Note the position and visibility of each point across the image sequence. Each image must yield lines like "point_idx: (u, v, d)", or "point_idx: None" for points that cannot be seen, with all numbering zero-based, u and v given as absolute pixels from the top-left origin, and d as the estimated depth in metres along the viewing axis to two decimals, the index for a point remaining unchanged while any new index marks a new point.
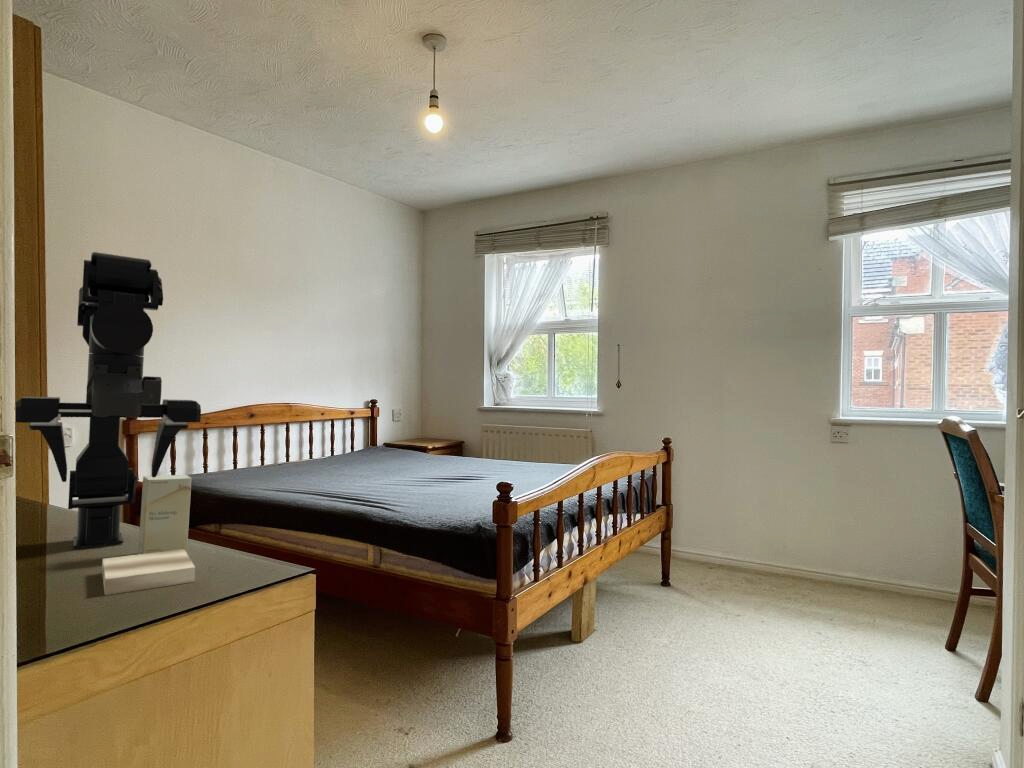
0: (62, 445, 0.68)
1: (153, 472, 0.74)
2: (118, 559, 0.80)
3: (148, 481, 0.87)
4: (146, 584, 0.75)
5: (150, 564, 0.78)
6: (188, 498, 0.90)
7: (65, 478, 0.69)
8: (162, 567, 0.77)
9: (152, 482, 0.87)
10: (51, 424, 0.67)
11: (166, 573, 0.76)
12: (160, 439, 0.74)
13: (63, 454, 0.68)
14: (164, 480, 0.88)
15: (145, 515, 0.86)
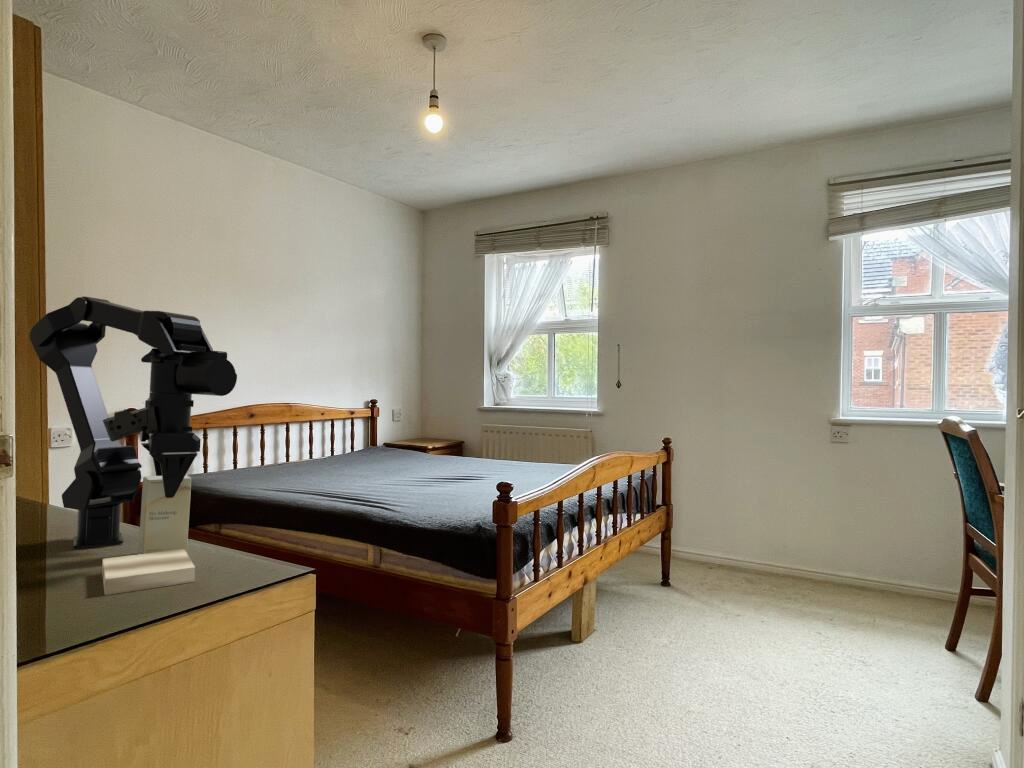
0: (153, 459, 0.93)
1: (165, 493, 0.86)
2: (118, 559, 0.80)
3: (148, 481, 0.87)
4: (146, 584, 0.75)
5: (150, 564, 0.78)
6: (188, 498, 0.90)
7: None
8: (162, 567, 0.77)
9: (152, 482, 0.87)
10: (147, 443, 0.93)
11: (166, 573, 0.76)
12: (160, 465, 0.85)
13: (154, 466, 0.93)
14: None
15: (145, 515, 0.86)
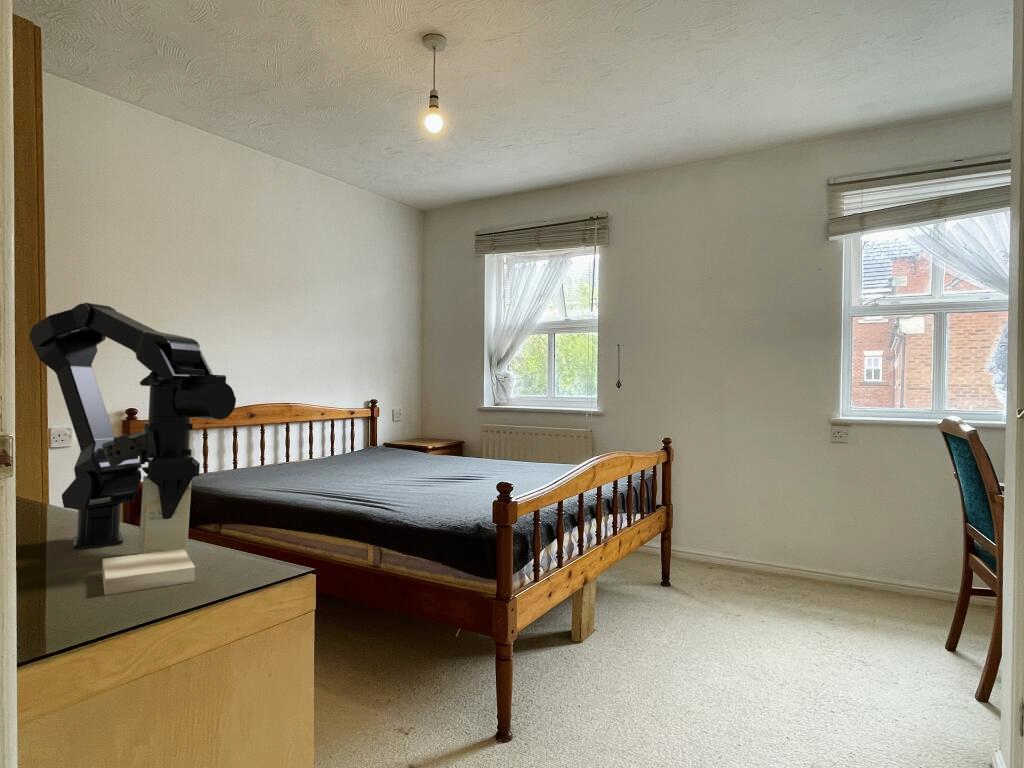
0: None
1: None
2: (118, 559, 0.80)
3: (148, 481, 0.87)
4: (146, 584, 0.75)
5: (150, 564, 0.78)
6: (188, 498, 0.90)
7: None
8: (162, 567, 0.77)
9: (152, 482, 0.87)
10: (148, 468, 0.92)
11: (166, 573, 0.76)
12: (158, 487, 0.87)
13: None
14: None
15: (145, 515, 0.86)
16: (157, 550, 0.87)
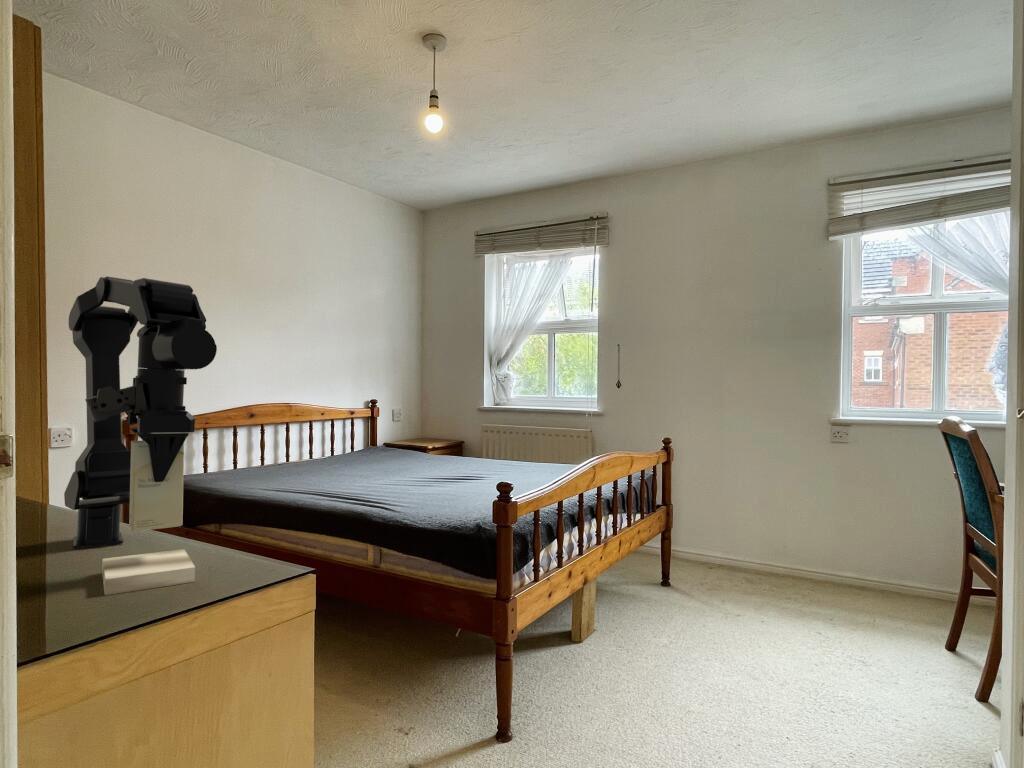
0: None
1: None
2: (118, 559, 0.80)
3: (135, 444, 0.78)
4: (146, 584, 0.75)
5: (150, 564, 0.78)
6: (181, 463, 0.81)
7: None
8: (162, 567, 0.77)
9: (140, 446, 0.78)
10: (137, 427, 0.83)
11: (166, 573, 0.76)
12: (148, 446, 0.78)
13: None
14: None
15: (134, 482, 0.78)
16: (149, 521, 0.79)
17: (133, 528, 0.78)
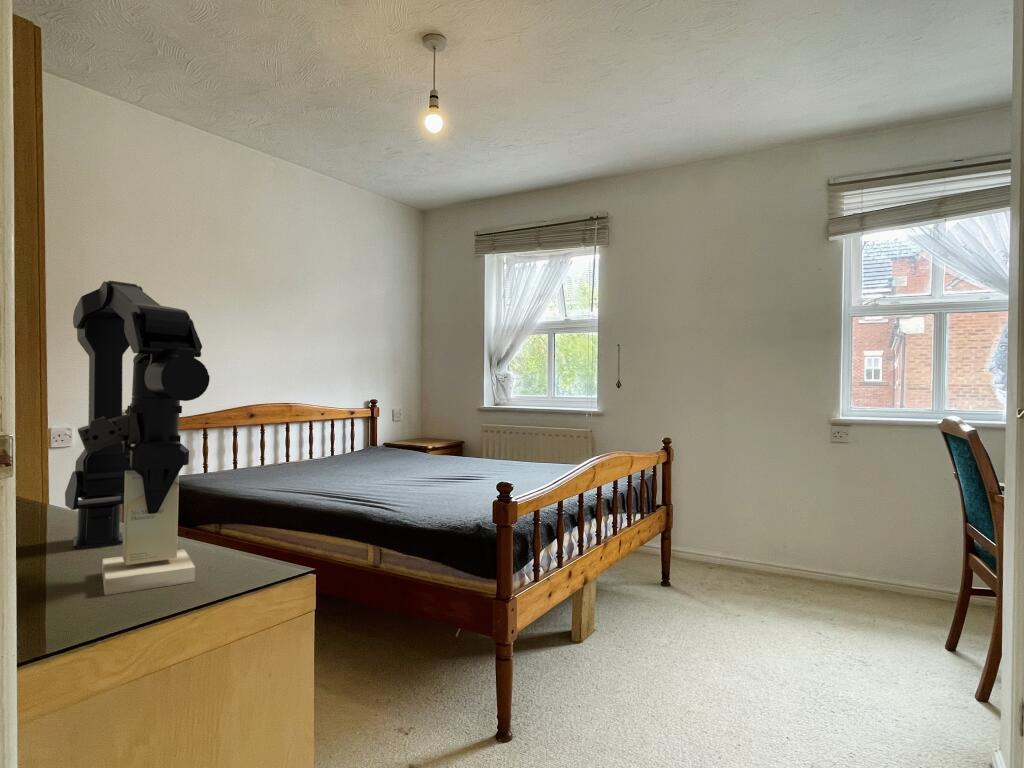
0: None
1: None
2: (118, 559, 0.80)
3: (128, 476, 0.76)
4: (146, 584, 0.75)
5: (150, 564, 0.78)
6: (176, 494, 0.79)
7: None
8: (162, 567, 0.77)
9: (133, 477, 0.76)
10: None
11: (166, 573, 0.76)
12: None
13: None
14: None
15: (127, 515, 0.76)
16: (142, 554, 0.77)
17: (126, 562, 0.76)
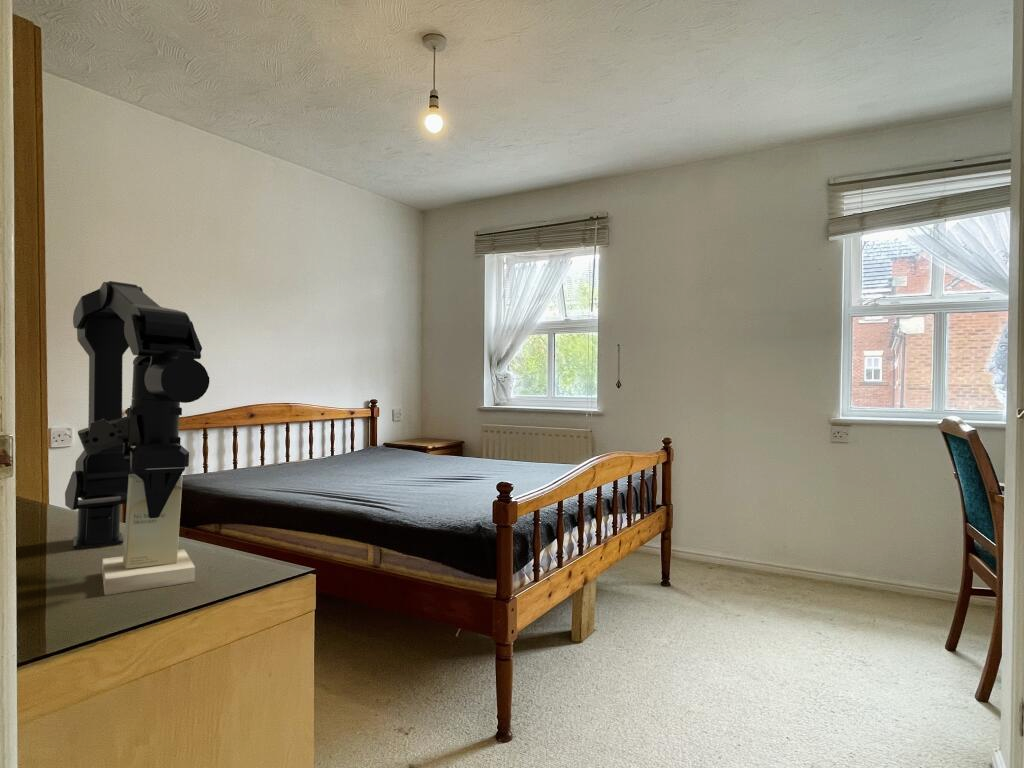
0: None
1: None
2: (118, 559, 0.80)
3: (133, 479, 0.76)
4: (146, 584, 0.75)
5: None
6: (179, 499, 0.80)
7: None
8: (162, 567, 0.77)
9: (137, 481, 0.77)
10: None
11: (166, 573, 0.76)
12: (143, 481, 0.75)
13: None
14: None
15: (129, 518, 0.76)
16: (143, 558, 0.77)
17: (126, 565, 0.76)
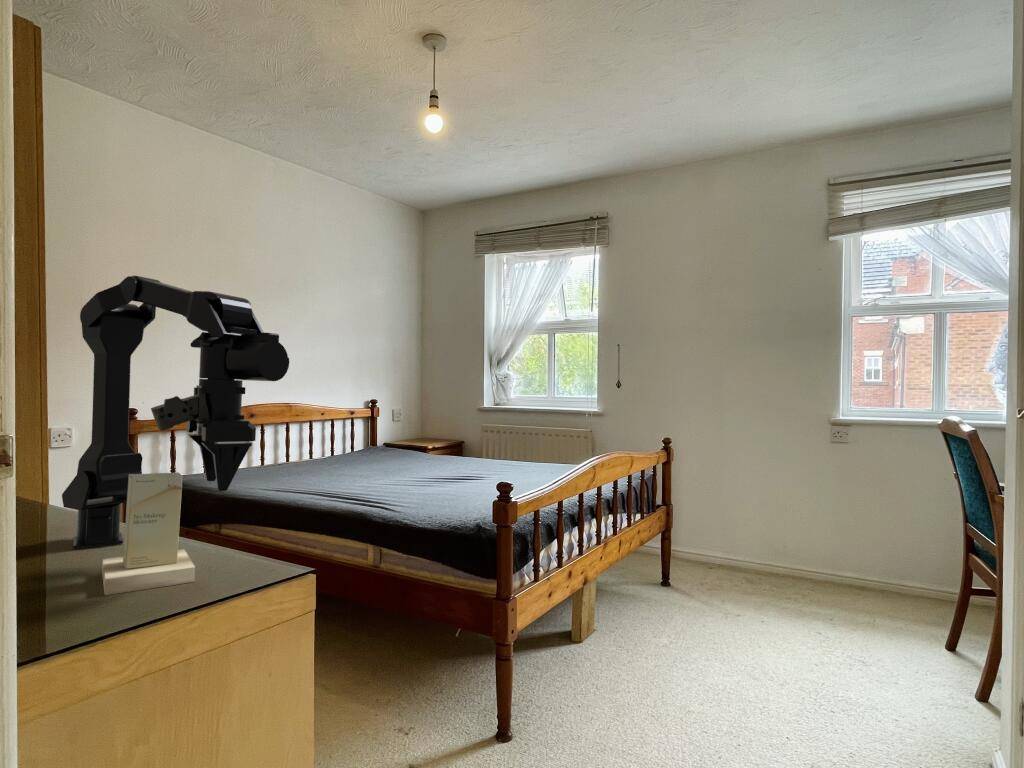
0: (201, 451, 0.87)
1: (218, 486, 0.80)
2: (118, 559, 0.80)
3: (133, 480, 0.76)
4: (146, 584, 0.75)
5: None
6: (179, 499, 0.80)
7: (207, 478, 0.87)
8: (162, 567, 0.77)
9: (137, 481, 0.77)
10: (195, 434, 0.88)
11: (166, 573, 0.76)
12: (213, 455, 0.79)
13: (203, 459, 0.87)
14: (151, 478, 0.77)
15: (129, 518, 0.76)
16: (143, 558, 0.77)
17: (126, 565, 0.76)
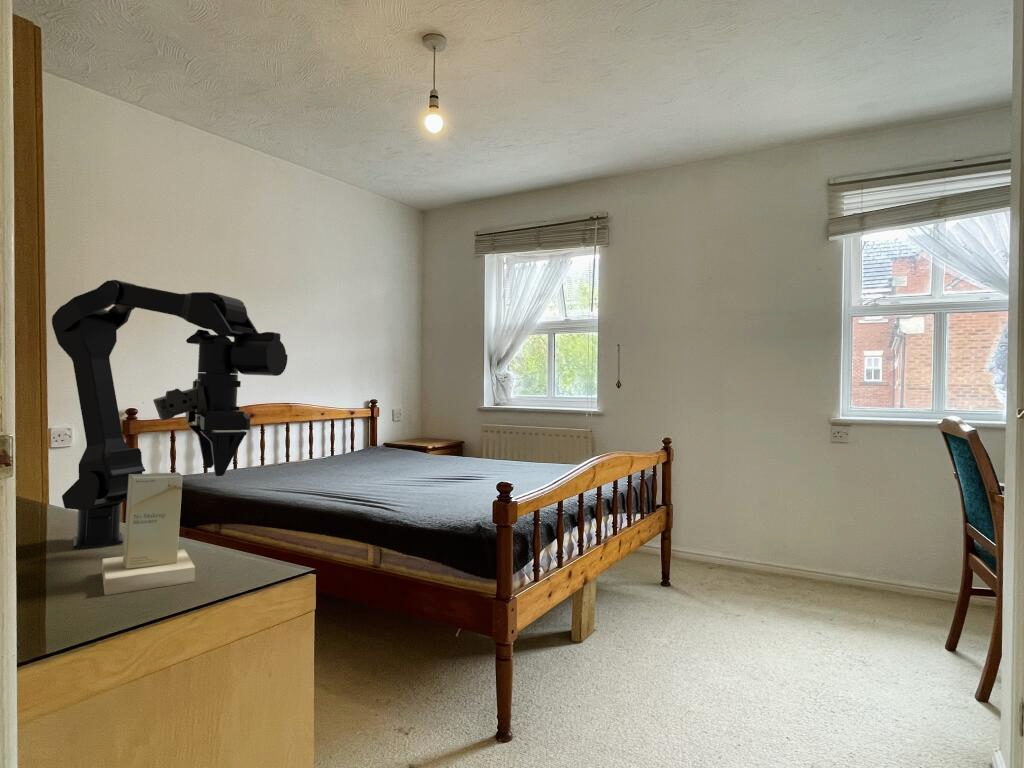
0: (199, 440, 0.94)
1: (215, 471, 0.87)
2: (118, 559, 0.80)
3: (133, 480, 0.76)
4: (146, 584, 0.75)
5: None
6: (179, 499, 0.80)
7: (204, 465, 0.94)
8: (162, 567, 0.77)
9: (137, 481, 0.77)
10: (193, 424, 0.95)
11: (166, 573, 0.76)
12: (210, 443, 0.86)
13: (201, 447, 0.94)
14: (151, 478, 0.77)
15: (129, 518, 0.76)
16: (143, 558, 0.77)
17: (126, 565, 0.76)
